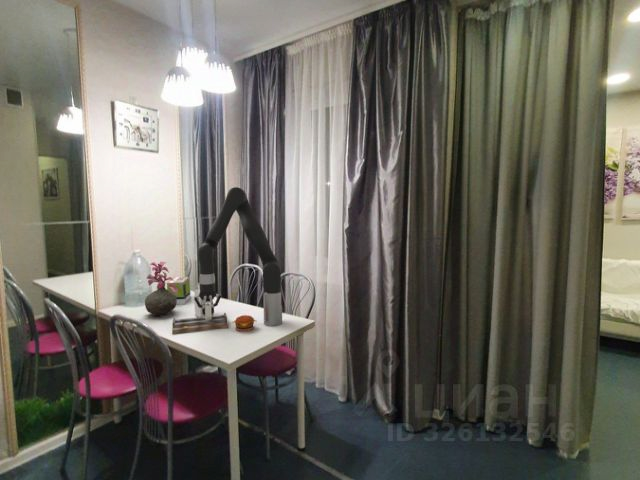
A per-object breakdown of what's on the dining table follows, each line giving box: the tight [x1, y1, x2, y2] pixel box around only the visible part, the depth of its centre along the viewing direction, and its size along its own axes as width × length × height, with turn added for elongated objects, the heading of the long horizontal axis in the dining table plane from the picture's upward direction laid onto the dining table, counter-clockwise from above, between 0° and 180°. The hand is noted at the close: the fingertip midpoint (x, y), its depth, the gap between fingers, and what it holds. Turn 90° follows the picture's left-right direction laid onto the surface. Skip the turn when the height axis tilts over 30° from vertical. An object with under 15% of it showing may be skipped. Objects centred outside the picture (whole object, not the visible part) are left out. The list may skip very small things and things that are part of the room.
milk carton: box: [193, 282, 211, 317], centre depth 186 cm, size 7×7×19 cm
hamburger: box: [232, 314, 257, 333], centre depth 167 cm, size 9×10×7 cm
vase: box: [144, 261, 178, 317], centre depth 186 cm, size 17×17×30 cm
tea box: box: [166, 276, 192, 306], centre depth 211 cm, size 15×10×15 cm, turn 6°
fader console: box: [171, 312, 229, 335], centre depth 170 cm, size 26×14×4 cm, turn 111°
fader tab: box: [205, 303, 213, 320], centre depth 171 cm, size 3×4×9 cm, turn 21°
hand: (208, 314), depth 171 cm, fingers closed on fader tab, 3 cm apart
